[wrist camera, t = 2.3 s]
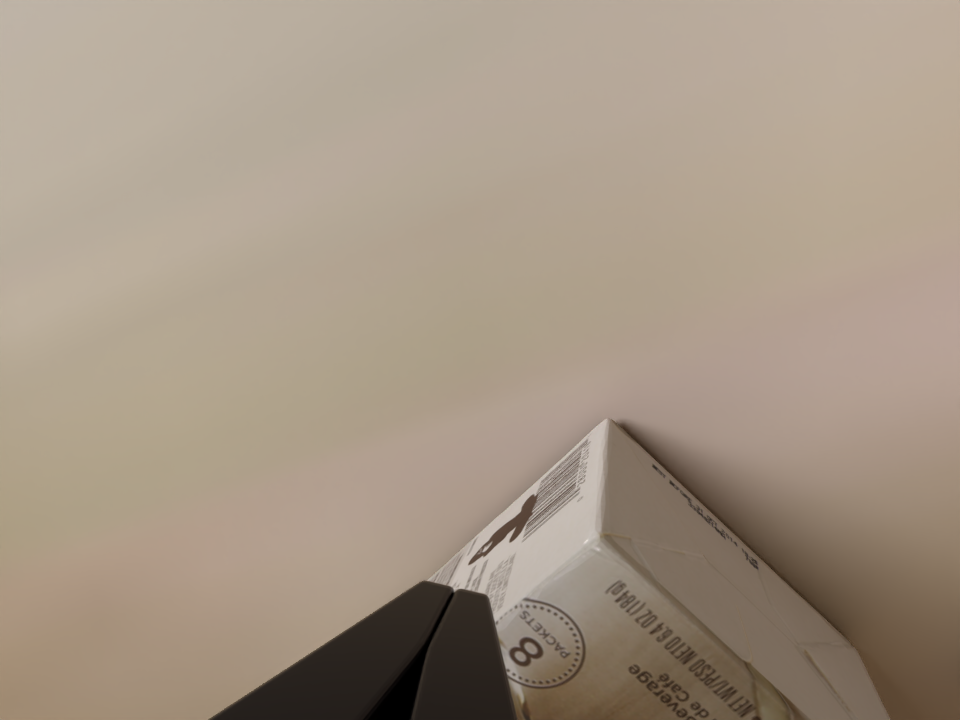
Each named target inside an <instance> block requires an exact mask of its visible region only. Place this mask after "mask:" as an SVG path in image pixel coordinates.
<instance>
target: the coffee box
mask: <svg viewBox="0 0 960 720" xmlns="http://www.w3.org/2000/svg"><path fill="white" fill-rule="evenodd" d="M427 581H431V582H435V583H440V584H444V585H448V586H451V587H453V589H454V591H456V590H457V589H466V590H470V591H475V592H479V593H483V594H486V595H487V596H488V597H489V599H490V603H491V607H492V612H493V616H494V620H495V625H496V629H497V633H498V637H499V642H500V646H501V650H502V655H503V659H504V663H505V667H506V672H507V676H508V680H509V685H510V689H511V693H512V698H513V702H514V706H515V710H516V715H517V719H518V720H891V719H890V717H889V715H888V713H887V711H886V709H885V707H884V705H883V703H882V701H881V699H880V697H879V695H878V693H877V691H876V689H875V686H874V684H873V682H872V680H871V678H870V676H869V674H868V672H867V670H866V668H865V666H864V664H863V661H862V659H861V657H860V656H859V654H858V652H857V650H856V649H855V648H854V647H853V646H852V644H851V643H850V642H849V641H848V640H847V639H846V638H845V637H844V636H843V635H842V634H841V633H840V632H839V631H837V630H836V629H835V628H834V627H833V626H832V625H831V624H830V623H829V622H828V621H827V620H826V619H825V618H824V617H823V616H822V615H821V614H819V613H818V612H817V611H816V610H815V609H814V608H813V607H812V606H811V605H810V604H809V603H807V602H806V601H805V600H804V599H803V598H802V597H801V596H800V595H799V594H798V593H796V592H795V591H794V590H793V589H792V588H791V587H790V586H789V585H788V584H787V583H786V582H785V581H784V580H783V579H782V578H780V577H779V576H778V575H777V574H776V573H775V572H774V571H773V570H772V569H771V568H770V567H769V566H768V565H767V564H766V563H765V562H763V561H762V560H761V559H760V558H759V557H758V556H757V555H756V554H755V553H754V552H753V551H752V550H750V549H749V548H748V547H747V546H746V545H745V544H744V543H743V542H742V541H741V540H740V539H739V538H738V537H737V536H736V535H735V534H734V533H732V532H731V531H730V530H729V529H728V528H727V527H726V526H725V525H724V524H723V523H722V522H721V521H720V520H719V519H718V518H716V517H715V516H714V515H713V514H712V513H711V512H710V511H709V510H708V509H707V508H706V507H705V506H704V505H703V504H702V503H700V502H699V501H698V500H697V499H696V498H695V497H694V496H693V495H692V494H691V493H690V492H689V491H688V490H687V489H685V488H684V487H683V486H682V485H681V484H680V483H679V482H678V481H677V480H676V479H675V478H674V477H673V476H672V475H671V474H670V473H668V472H667V471H666V470H665V469H664V468H663V467H662V466H661V465H660V464H659V463H658V462H657V461H656V460H655V459H654V458H652V457H651V456H650V455H649V454H648V453H647V452H646V451H645V450H644V449H643V448H642V447H641V446H640V445H639V444H638V443H637V442H636V441H635V440H634V439H633V438H632V437H630V436H629V435H628V434H627V433H626V432H625V431H624V430H623V429H622V428H621V427H620V426H619V425H618V424H617V423H616V422H615V421H613V420H612V419H610V418H608V419H605V420H604V421H602V422H601V423H600V424H599V425H597V426H596V427H595V428H594V429H593V430H592V431H591V432H590V433H589V434H588V435H587V436H585V437H584V438H583V439H582V440H581V441H580V442H579V443H578V444H577V445H576V446H575V447H574V448H573V449H572V450H571V451H570V452H569V453H567V454H566V455H565V456H564V457H563V458H562V459H561V460H560V461H559V462H557V463H556V464H555V465H554V466H553V467H552V468H551V469H550V470H549V471H548V472H546V473H545V474H544V475H543V476H542V477H541V478H540V479H539V480H538V481H537V482H536V483H534V484H533V485H532V486H531V487H530V488H529V489H528V490H527V491H526V492H525V493H523V494H522V495H521V496H520V497H519V498H518V499H517V500H516V501H514V502H513V503H512V504H511V505H510V506H509V507H508V508H507V509H506V510H505V511H504V512H502V513H501V514H500V515H499V516H498V517H497V518H495V519H494V520H493V521H492V522H491V523H490V524H489V525H488V526H487V527H486V528H484V529H483V530H482V531H481V532H480V533H479V534H478V535H477V536H476V537H474V538H473V539H472V540H471V541H470V542H469V543H468V544H467V545H466V546H464V547H463V548H462V549H461V550H460V551H459V552H458V553H457V554H456V555H455V556H453V557H452V558H451V559H450V560H449V561H448V562H447V563H446V564H445V565H444V566H443V567H441V568H440V569H439V570H438V571H437V572H436V573H435V574H434V575H433V576H432V577H431V578H429V579H428V580H427Z"/></svg>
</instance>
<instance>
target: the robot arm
mask: <svg viewBox="0 0 960 720" xmlns="http://www.w3.org/2000/svg"><path fill="white" fill-rule="evenodd" d="M208 720H518V719H517V715H516V710H515V706H514V702H513V698H512V693H511V689H510V685H509V680H508V676H507V672H506V667H505V663H504V659H503V655H502V650H501V646H500V642H499V637H498V633H497V629H496V625H495V620H494V616H493V612H492V607H491V603H490V599H489V597H488V596H487V595H486V594H483V593H479V592H475V591H470V590H466V589H457V590H456V591H454V589H453V587H451V586H448V585H444V584H440V583H435V582H431V581H421V582H419V583H418V584H416V585H415V586H413V587H412V588H410V589H409V590H407V591H406V592H404V593H402V594H401V595H399V596H398V597H396V598H395V599H393V600H392V601H390V602H389V603H387V604H385V605H384V606H382V607H381V608H379V609H378V610H376V611H375V612H373V613H372V614H370V615H369V616H367V617H365V618H364V619H362V620H361V621H359V622H358V623H356V624H355V625H353V626H352V627H350V628H349V629H347V630H345V631H344V632H342V633H341V634H339V635H338V636H336V637H335V638H333V639H332V640H330V641H328V642H327V643H325V644H324V645H322V646H321V647H319V648H318V649H316V650H315V651H313V652H312V653H310V654H308V655H307V656H305V657H304V658H302V659H301V660H299V661H298V662H296V663H295V664H293V665H292V666H290V667H288V668H287V669H285V670H284V671H282V672H281V673H279V674H278V675H276V676H275V677H273V678H271V679H270V680H268V681H267V682H265V683H264V684H262V685H261V686H259V687H258V688H256V689H255V690H253V691H251V692H250V693H248V694H247V695H245V696H244V697H242V698H241V699H239V700H238V701H236V702H235V703H233V704H231V705H230V706H228V707H227V708H225V709H224V710H222V711H221V712H219V713H218V714H216V715H215V716H213V717H211V718H210V719H208Z"/></svg>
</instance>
